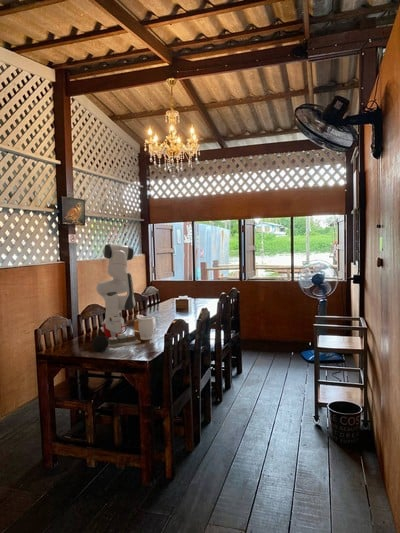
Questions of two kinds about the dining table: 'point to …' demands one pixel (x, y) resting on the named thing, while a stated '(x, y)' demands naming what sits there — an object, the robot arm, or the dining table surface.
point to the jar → (146, 327)
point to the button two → (121, 335)
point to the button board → (122, 342)
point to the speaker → (100, 343)
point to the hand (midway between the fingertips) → (113, 337)
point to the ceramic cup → (108, 334)
